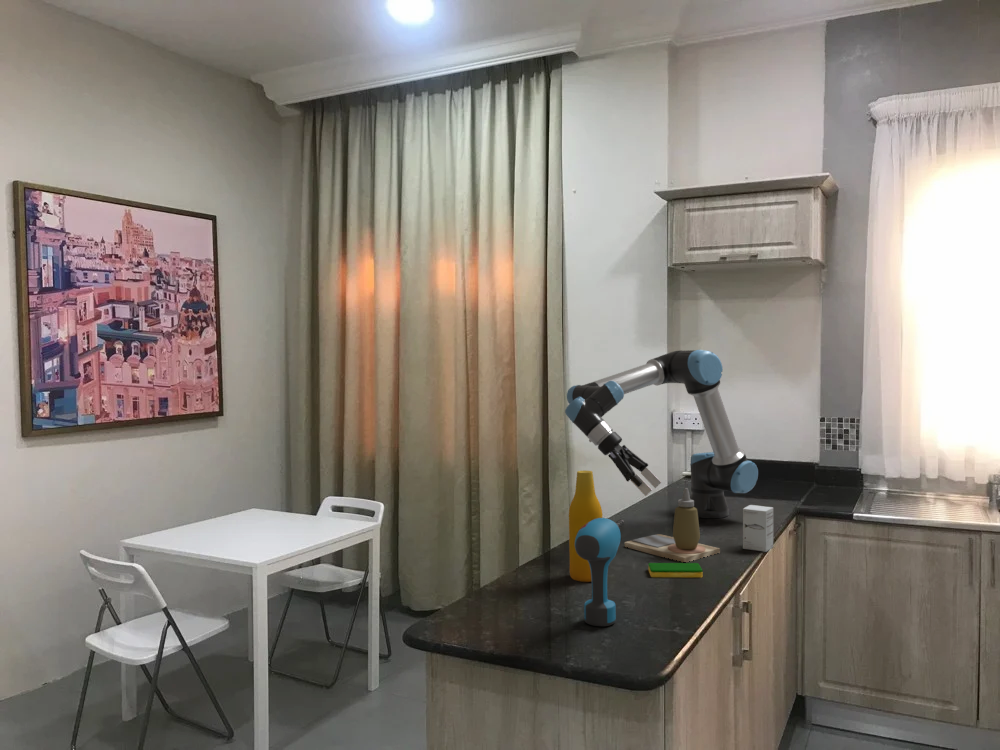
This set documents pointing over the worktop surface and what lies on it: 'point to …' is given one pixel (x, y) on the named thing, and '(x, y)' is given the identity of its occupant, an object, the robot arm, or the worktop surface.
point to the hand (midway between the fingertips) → (654, 489)
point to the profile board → (670, 548)
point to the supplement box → (758, 528)
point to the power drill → (599, 566)
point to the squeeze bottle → (686, 523)
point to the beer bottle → (582, 522)
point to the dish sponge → (675, 570)
